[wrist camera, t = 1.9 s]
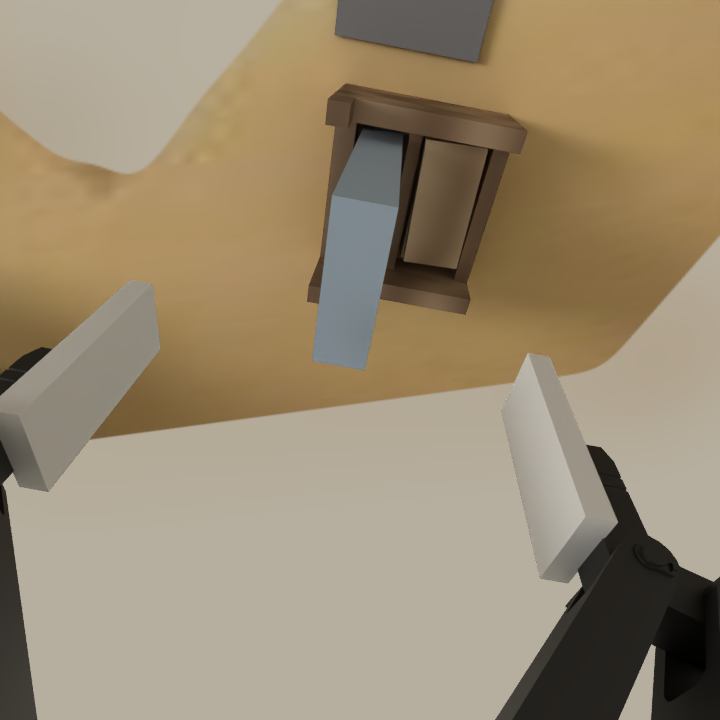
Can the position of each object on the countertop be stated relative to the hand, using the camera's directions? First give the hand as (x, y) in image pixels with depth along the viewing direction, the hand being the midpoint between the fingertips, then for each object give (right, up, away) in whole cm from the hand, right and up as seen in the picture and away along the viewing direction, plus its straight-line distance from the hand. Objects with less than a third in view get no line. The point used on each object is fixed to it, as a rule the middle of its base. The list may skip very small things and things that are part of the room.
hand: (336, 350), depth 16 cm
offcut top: (+6, +10, +15) cm, 20 cm away
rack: (+4, +12, +18) cm, 22 cm away
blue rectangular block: (+2, +12, +17) cm, 21 cm away
